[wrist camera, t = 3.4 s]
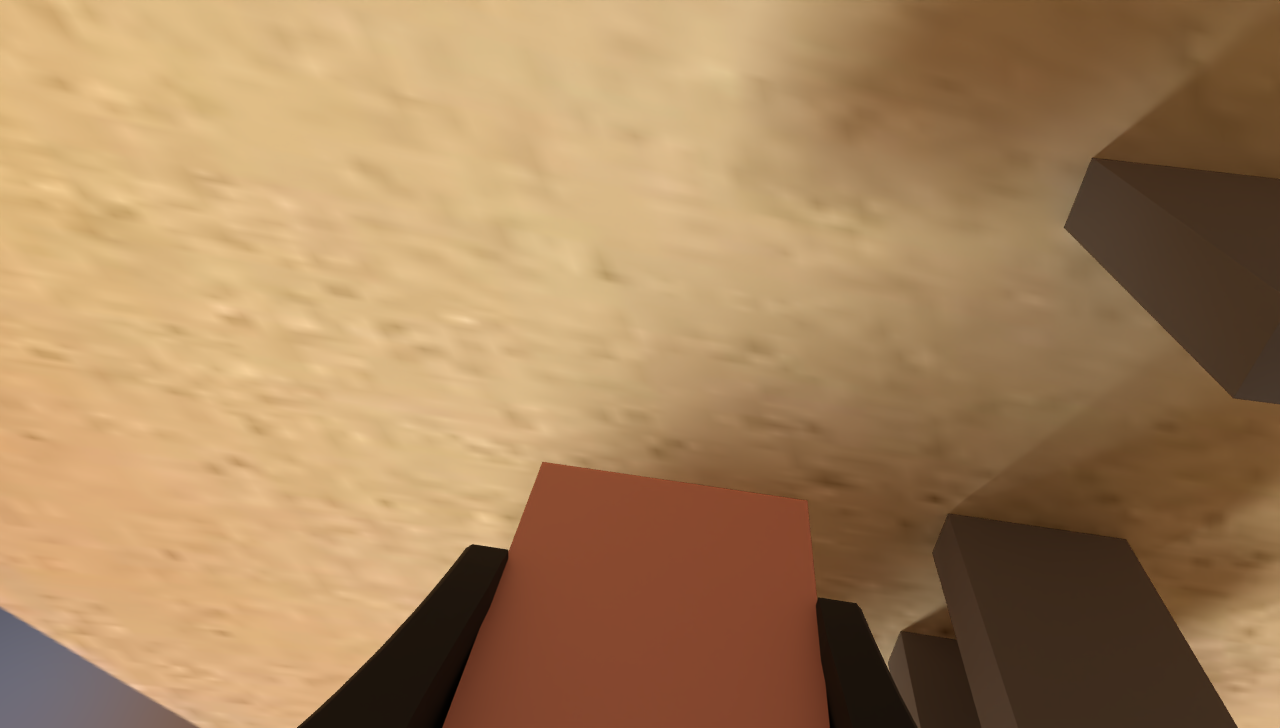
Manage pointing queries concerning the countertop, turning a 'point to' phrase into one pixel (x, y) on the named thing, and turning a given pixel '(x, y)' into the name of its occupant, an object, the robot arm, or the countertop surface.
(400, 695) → the robot arm
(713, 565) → the domino
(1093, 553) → the domino
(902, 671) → the domino
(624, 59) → the countertop surface
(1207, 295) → the domino
